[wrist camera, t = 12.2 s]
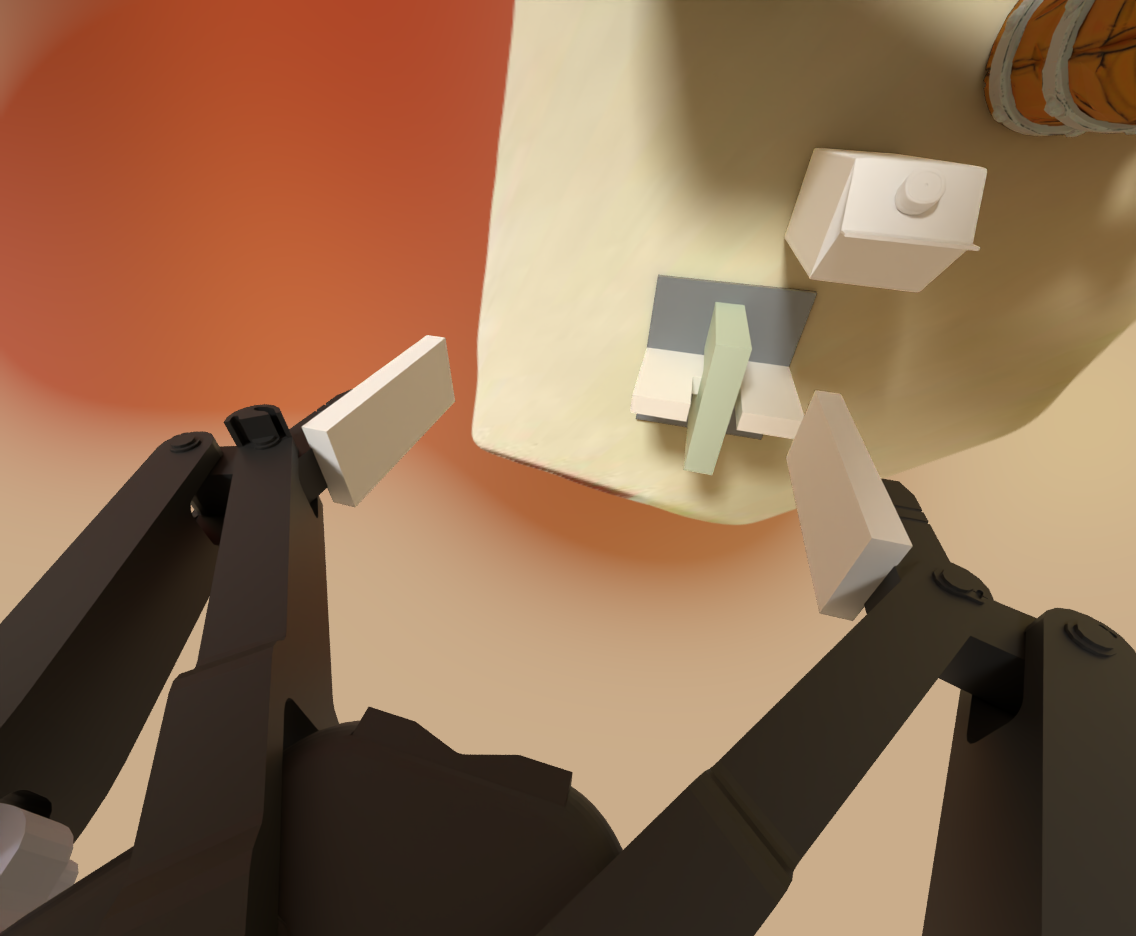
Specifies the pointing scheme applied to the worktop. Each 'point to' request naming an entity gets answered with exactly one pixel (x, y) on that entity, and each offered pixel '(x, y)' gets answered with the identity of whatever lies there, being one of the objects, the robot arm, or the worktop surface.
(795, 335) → the notched wall on base
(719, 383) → the pale green tall block
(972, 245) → the milk carton
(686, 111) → the worktop surface
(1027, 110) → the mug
